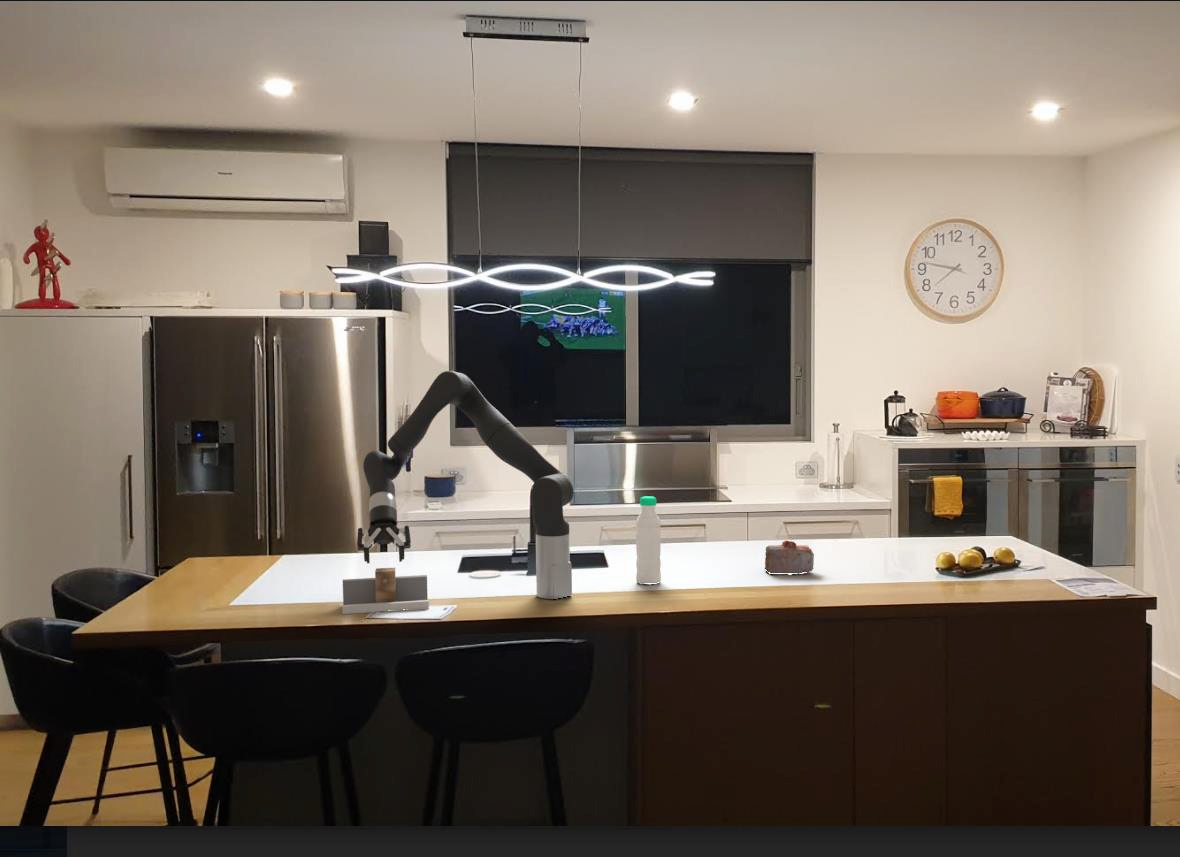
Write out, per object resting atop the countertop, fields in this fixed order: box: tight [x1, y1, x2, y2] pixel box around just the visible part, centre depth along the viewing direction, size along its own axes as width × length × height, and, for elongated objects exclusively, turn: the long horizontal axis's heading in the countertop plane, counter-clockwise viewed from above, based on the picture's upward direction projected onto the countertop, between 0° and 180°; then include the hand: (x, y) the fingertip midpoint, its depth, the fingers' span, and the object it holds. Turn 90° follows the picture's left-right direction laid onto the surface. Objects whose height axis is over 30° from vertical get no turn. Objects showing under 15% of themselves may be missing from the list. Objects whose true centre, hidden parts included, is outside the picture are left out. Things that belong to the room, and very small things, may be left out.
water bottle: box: [635, 495, 662, 583], centre depth 285 cm, size 7×7×25 cm
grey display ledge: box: [341, 574, 430, 615], centre depth 261 cm, size 22×9×7 cm, turn 102°
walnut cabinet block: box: [374, 567, 396, 603], centre depth 261 cm, size 5×5×10 cm
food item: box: [764, 540, 815, 574], centre depth 296 cm, size 14×8×10 cm, turn 94°
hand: (384, 561), depth 266 cm, fingers open, 8 cm apart
